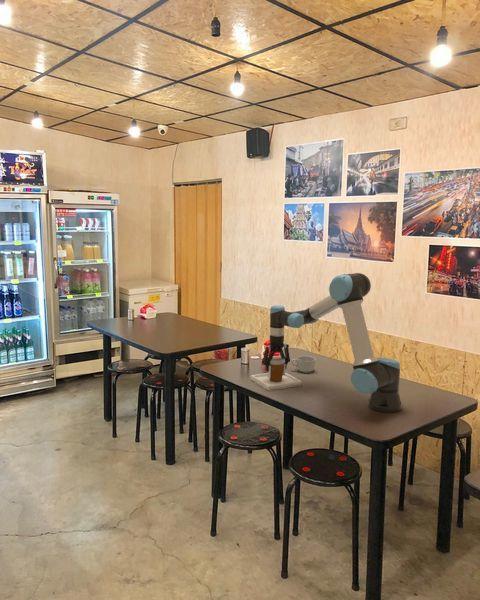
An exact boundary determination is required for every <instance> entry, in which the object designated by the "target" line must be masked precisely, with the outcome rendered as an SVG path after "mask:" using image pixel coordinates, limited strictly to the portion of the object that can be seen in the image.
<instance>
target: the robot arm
mask: <svg viewBox="0 0 480 600" xmlns="http://www.w3.org/2000/svg"><path fill="white" fill-rule="evenodd" d="M371 283H372V282H371V281H370V278H369V277H368V276H366V274H364V273H361V272H354V273H343V274H339V275H336V276H334V277H333V279H332V280H331V282H330V283H329V286H328V291H329V295H327V297H324V298H323V299H321V300H319V301H318V302H316V303H314V304H313V305H311V306H310V307H308V308H306V309H302V310H298V311H286V308H285V306H284V305H278V304H277V305H272V306H270V311H269V345H264V352H263V357H262V363H261V364H262V365H264V366H265V371H266V373H267V377H268V378H270V375H271V366H270V361H271V360H272V358H273V357H274V355H275V354H276V353H279V357H281V358H284V360H285V363H284V369H283V376H285V373H286V370H287V369H288V368H287V365H288V364H289V363H291V359H290V358H291V357H290V352H289V350H290V349H289V347H290V345H289V344H288V343H285V327H290V328H292V329H300V328H301V327H303V326H304V325H309V324H311V325H312V324H315V323H316V322H318V321H319V319H321V318H322V317H325V316H326V315H328V314H330V313H332V312H333V311H335V310H337V309H339V308H340V309H341V310H342V314H343V317H344V318H343V319H344V321H345V325H346V329H347V335H348V337H349V341H350V346H351V349H352V354H353V358H354V361H353V364H352V369H353V371H352V372H351V375H350V381H351V384H352V386H353V388H354V389H355V390H356V391H358V392H359V393H360V394H364V395H365V394H366V395H367V394H370V397H369V398H368V400H367V406H368V407H369V408H370V409H371V410H374V411H376V412H380V413H381V412H382V413H397V412H400V411H401V410H402V406H403V405H402V401H401V397H400V394H399V391H400V390H399V389H400V387H399V386H400V377H401V376H400V373H401V363H400V362H399V361H398V360H396V359H392V358H387V357H375V355H374V351H373V347H372V344H371V339H370V336H369V332H368V327H367V324H366V320H365V319H366V318H365V316H364V310H363V307H362V304H363V302H364V297H366V296H367V295H368V294H369V293H370V291H371V288H372V284H371ZM283 349H284V350H283Z"/></svg>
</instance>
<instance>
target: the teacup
mask: <svg viewBox="0 0 480 600" xmlns="http://www.w3.org/2000/svg"><path fill="white" fill-rule="evenodd" d="M316 360H317V359H316V357H315V356H311V355H298V356H297V357H296V358H292V359H291V360H290V363H291V365H292V366H293V367H295V369H297V370H298V371H299V372H301V373H305V374H308V373H311V372H313V371H314V370H315V367H316ZM294 361H295V362H296V364H294Z"/></svg>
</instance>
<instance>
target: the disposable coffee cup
mask: <svg viewBox="0 0 480 600" xmlns="http://www.w3.org/2000/svg"><path fill="white" fill-rule="evenodd" d="M284 363H285V360H284V358H281V356H273V358H272V360H271V361H270V366H271V375H270V381H272V382H281V381H282V375H283V369H284Z"/></svg>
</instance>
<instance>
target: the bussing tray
mask: <svg viewBox="0 0 480 600" xmlns="http://www.w3.org/2000/svg"><path fill="white" fill-rule="evenodd" d="M250 381H252V382H253V383H255V384H257V385H258V386H260V387H262V388H263V389H265V390H267V391H268V392H269V391H270V392H271V391H278V390H283V389H291V388H295V387H297V388H298V387H302V386H303V381H302V380H300V379H299V378H297V377H295V376H293V375H291V374H289V373H287V372H285V376H283V375H282V381H281V382H272V381H270V378H268V377H267V372H266V373H264V372H263V373H258V374H251V375H250Z"/></svg>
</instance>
